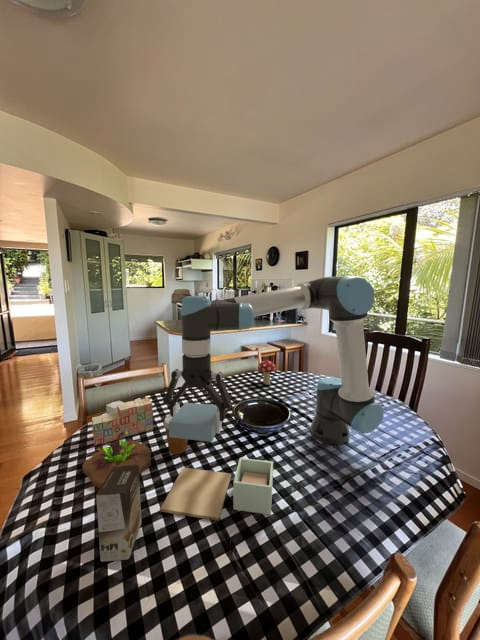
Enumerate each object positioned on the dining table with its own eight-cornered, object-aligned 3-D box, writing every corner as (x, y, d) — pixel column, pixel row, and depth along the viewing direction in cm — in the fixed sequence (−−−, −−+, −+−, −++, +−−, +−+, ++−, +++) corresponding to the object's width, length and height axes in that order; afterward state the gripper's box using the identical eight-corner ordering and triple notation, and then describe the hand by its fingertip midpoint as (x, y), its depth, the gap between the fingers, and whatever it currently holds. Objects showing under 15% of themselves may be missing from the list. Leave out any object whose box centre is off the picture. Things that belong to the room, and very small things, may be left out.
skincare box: (113, 424, 112) (112, 408, 111) (106, 420, 116) (105, 404, 115) (127, 419, 117) (126, 403, 116) (120, 414, 120) (119, 399, 119)
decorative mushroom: (279, 385, 157) (280, 361, 155) (266, 389, 150) (266, 364, 148) (266, 380, 165) (267, 357, 163) (253, 384, 159) (254, 360, 156)
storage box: (272, 486, 78) (273, 461, 77) (270, 514, 68) (271, 487, 67) (239, 481, 80) (239, 457, 79) (233, 509, 70) (233, 482, 69)
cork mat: (231, 475, 82) (231, 473, 82) (218, 520, 67) (218, 517, 67) (183, 469, 85) (183, 467, 85) (160, 511, 69) (160, 508, 69)
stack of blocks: (94, 448, 96) (92, 416, 94) (93, 439, 101) (90, 409, 99) (153, 430, 108) (152, 402, 106) (149, 424, 113) (148, 396, 111)
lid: (222, 419, 78) (222, 405, 77) (212, 441, 66) (212, 426, 66) (185, 415, 80) (185, 402, 79) (169, 437, 68) (168, 422, 68)
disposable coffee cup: (177, 460, 89) (176, 428, 88) (158, 451, 94) (157, 420, 93) (196, 446, 97) (195, 416, 96) (178, 438, 102) (177, 409, 101)
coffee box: (130, 560, 57) (126, 494, 55) (99, 562, 57) (94, 495, 54) (142, 522, 66) (139, 464, 64) (116, 524, 66) (112, 465, 63)
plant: (162, 463, 88) (161, 433, 87) (101, 498, 74) (98, 462, 72) (133, 440, 101) (132, 413, 100) (77, 466, 87) (74, 434, 85)
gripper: (242, 352, 72) (241, 426, 75) (161, 348, 76) (163, 418, 79) (237, 359, 65) (237, 441, 68) (148, 354, 69) (151, 432, 71)
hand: (197, 429), depth 73 cm, fingers closed on lid, 12 cm apart
